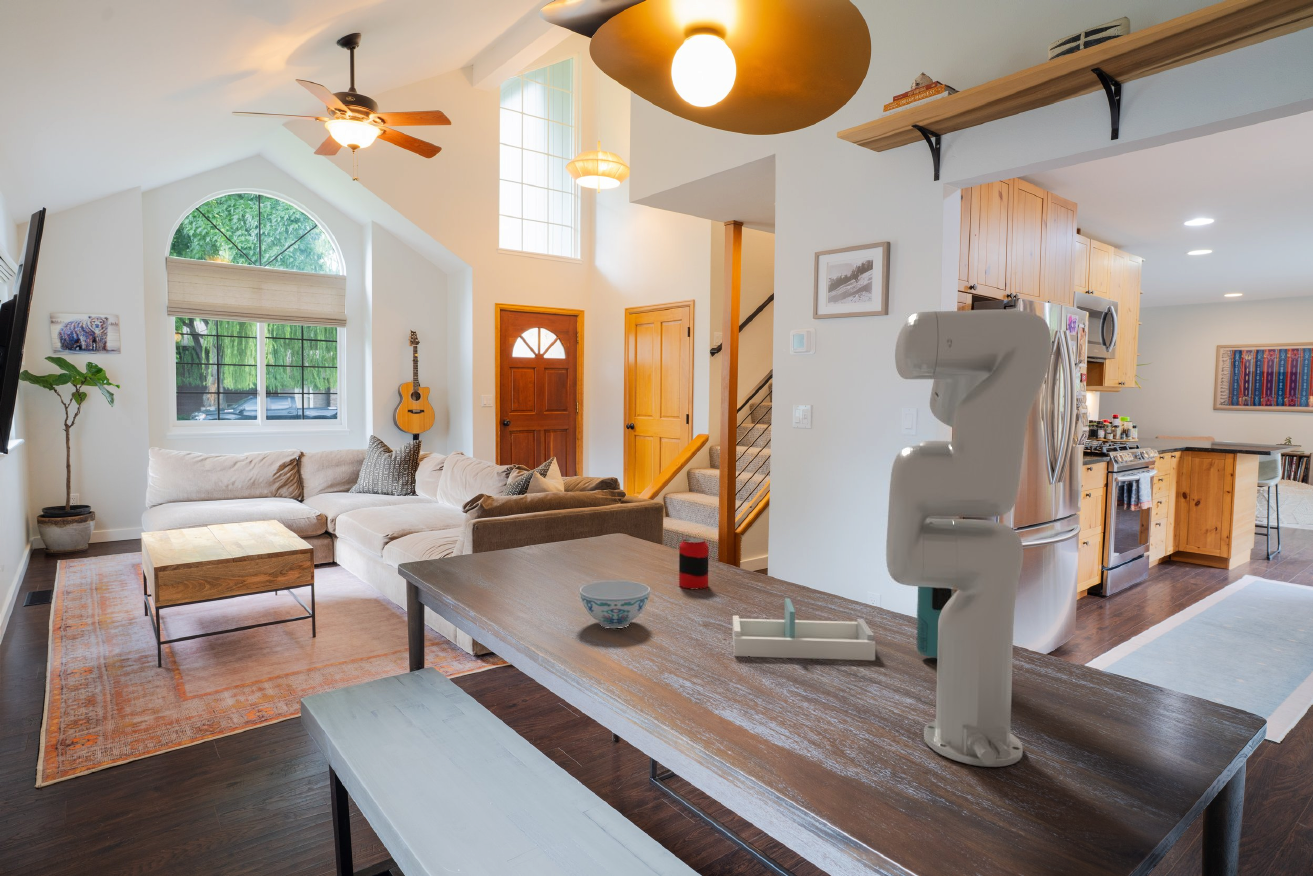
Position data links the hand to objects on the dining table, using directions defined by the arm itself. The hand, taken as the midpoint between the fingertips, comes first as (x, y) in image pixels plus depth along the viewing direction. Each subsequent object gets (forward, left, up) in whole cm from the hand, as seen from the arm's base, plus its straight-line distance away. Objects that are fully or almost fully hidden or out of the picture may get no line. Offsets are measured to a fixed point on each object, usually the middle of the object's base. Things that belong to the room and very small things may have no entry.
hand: (935, 603), depth 133 cm
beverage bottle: (0, 0, -11) cm, 11 cm away
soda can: (+50, +46, -11) cm, 69 cm away
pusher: (+5, +26, -10) cm, 28 cm away
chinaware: (+16, +62, -11) cm, 65 cm away
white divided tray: (+5, +24, -11) cm, 27 cm away
